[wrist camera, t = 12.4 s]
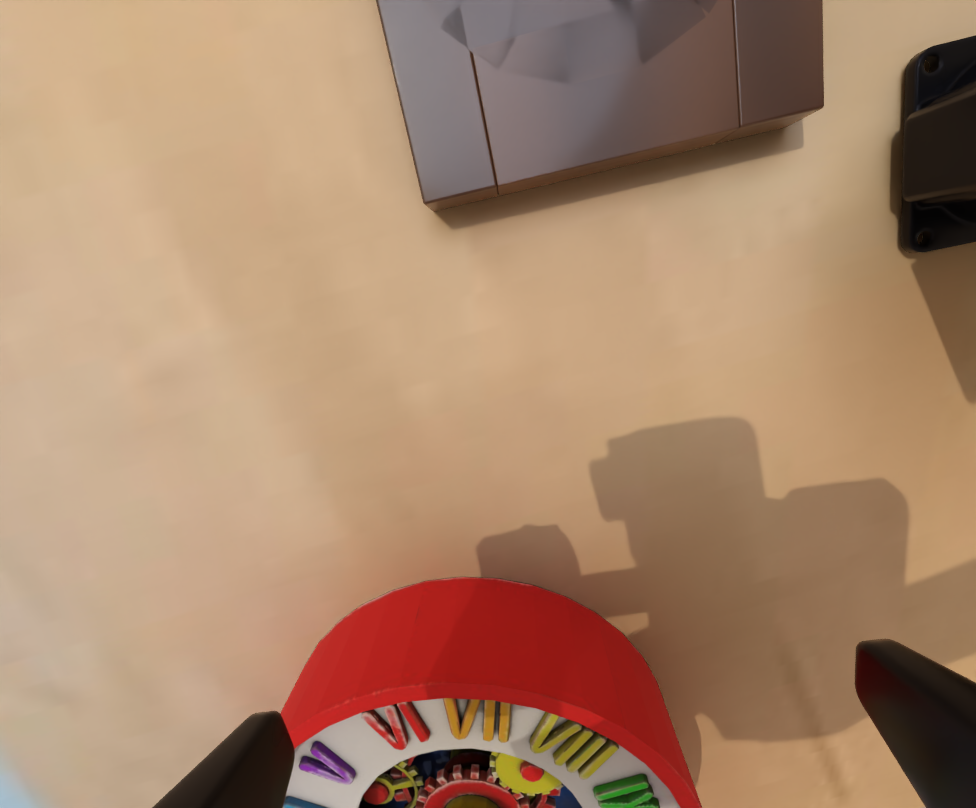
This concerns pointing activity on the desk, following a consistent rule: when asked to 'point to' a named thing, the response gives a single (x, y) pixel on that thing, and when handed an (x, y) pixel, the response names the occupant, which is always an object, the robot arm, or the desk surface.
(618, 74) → the holder
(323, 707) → the toy clock
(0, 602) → the desk surface
